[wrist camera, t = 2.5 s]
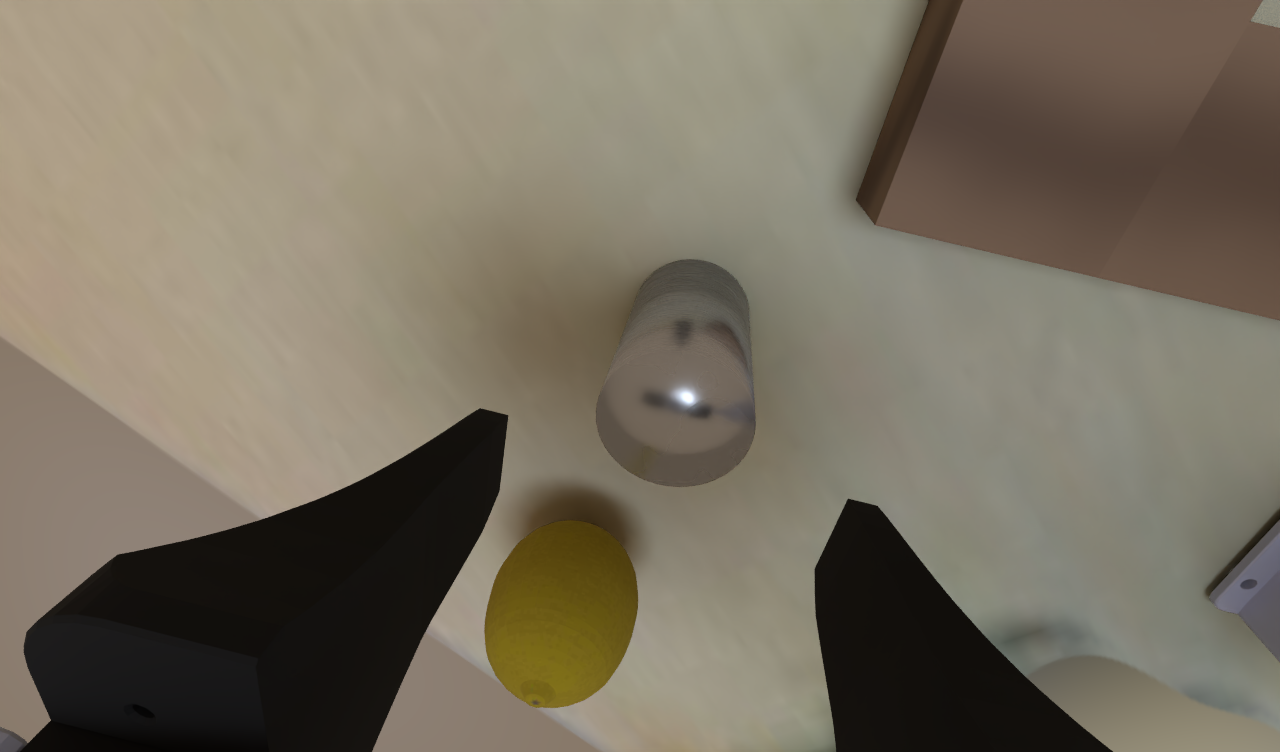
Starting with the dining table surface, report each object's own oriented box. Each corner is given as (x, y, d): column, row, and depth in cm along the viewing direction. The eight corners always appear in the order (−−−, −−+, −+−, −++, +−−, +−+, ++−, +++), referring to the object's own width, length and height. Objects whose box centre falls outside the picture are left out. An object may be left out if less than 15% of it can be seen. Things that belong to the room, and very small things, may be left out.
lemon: (543, 582, 29) (482, 754, 22) (508, 486, 27) (427, 646, 20) (660, 576, 28) (635, 756, 21) (635, 475, 25) (597, 641, 18)
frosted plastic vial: (731, 377, 23) (730, 501, 17) (624, 351, 23) (584, 466, 17) (763, 274, 21) (776, 373, 15) (646, 247, 21) (610, 333, 15)
